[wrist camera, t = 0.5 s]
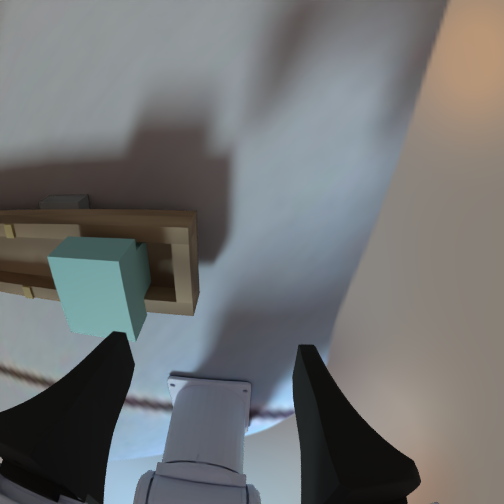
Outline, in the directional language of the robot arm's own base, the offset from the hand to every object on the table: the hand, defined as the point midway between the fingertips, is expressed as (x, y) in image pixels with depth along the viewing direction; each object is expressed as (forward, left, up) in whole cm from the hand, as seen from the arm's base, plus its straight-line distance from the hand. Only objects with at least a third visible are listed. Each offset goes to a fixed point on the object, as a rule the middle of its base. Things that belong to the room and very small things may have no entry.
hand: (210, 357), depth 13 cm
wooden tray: (0, +12, -10) cm, 16 cm away
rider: (0, +7, -8) cm, 10 cm away
